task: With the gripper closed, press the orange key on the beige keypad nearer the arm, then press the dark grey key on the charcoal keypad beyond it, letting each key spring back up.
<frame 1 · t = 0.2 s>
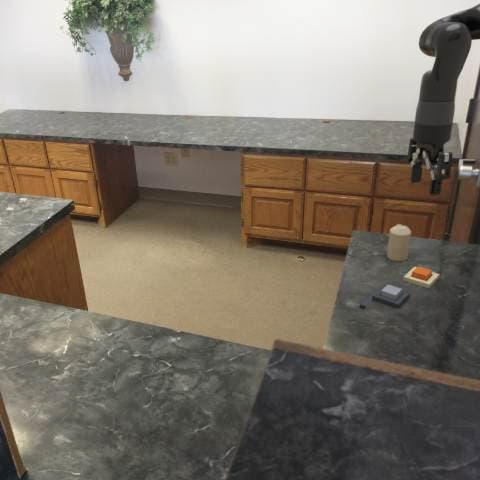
hand: (424, 188, 119), 29 cm above the counter, tool pointing down, fingers open, 8 cm apart
key b: (391, 292, 127), point 3 cm above the counter, slide at 0.1 cm
key a: (421, 273, 133), point 3 cm above the counter, slide at 0.1 cm
keypad b: (390, 304, 128), on the counter
candle: (397, 257, 149), on the counter
keypad a: (420, 285, 135), on the counter
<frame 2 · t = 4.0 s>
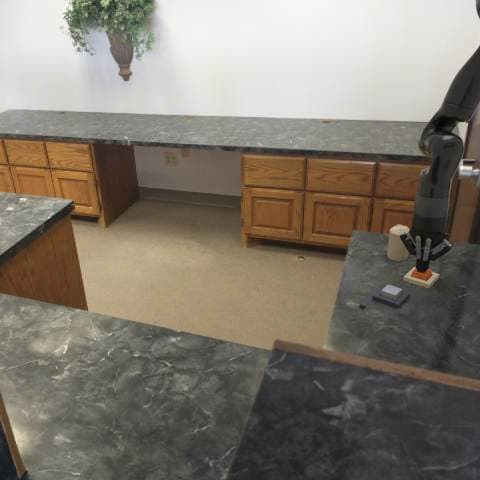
hand: (421, 270, 133), 4 cm above the counter, tool pointing down, fingers closed
key a: (421, 273, 133), point 3 cm above the counter, slide at 0.1 cm, touching gripper
everything else where it was.
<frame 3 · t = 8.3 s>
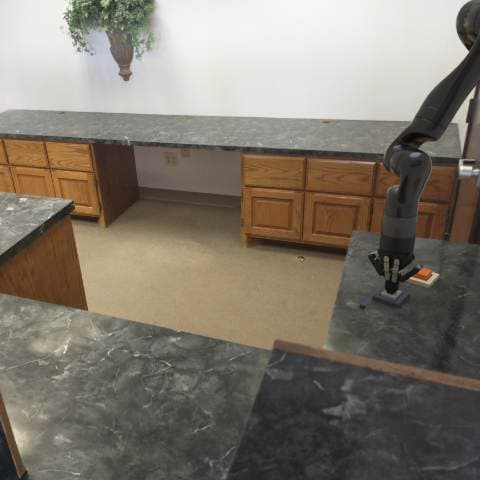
hand: (391, 292, 127), 4 cm above the counter, tool pointing down, fingers closed
key b: (391, 295, 127), point 3 cm above the counter, slide at -0.7 cm, touching gripper
key a: (421, 273, 133), point 3 cm above the counter, slide at 0.1 cm
everything else where it was.
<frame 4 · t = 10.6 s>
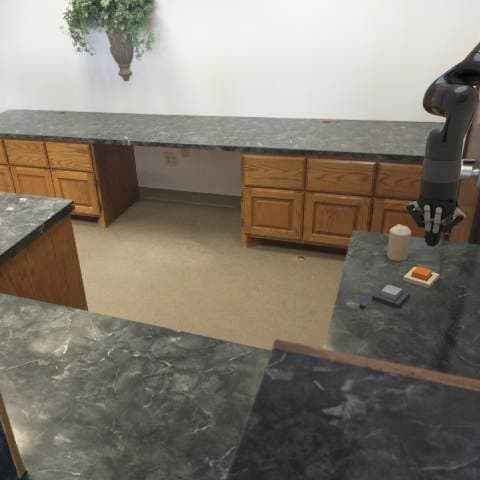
hand: (431, 244, 119), 17 cm above the counter, tool pointing down, fingers closed
key b: (391, 292, 127), point 3 cm above the counter, slide at 0.1 cm
everything else where it was.
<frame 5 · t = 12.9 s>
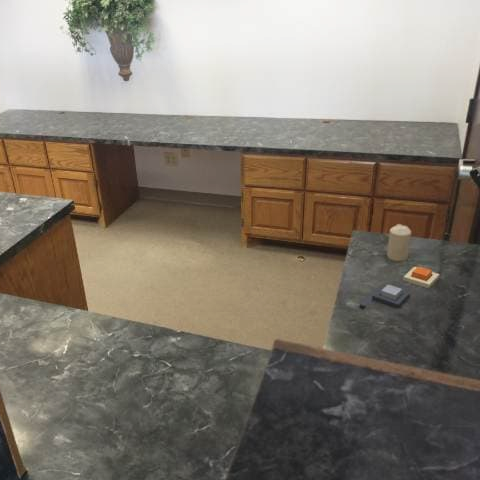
nothing on the counter moved.
at the end: key a pushed in 1.1 cm at the most during the clip, back to where it started at the end; key b pushed in 1.1 cm at the most during the clip, back to where it started at the end; key b slide at 0.1 cm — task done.
